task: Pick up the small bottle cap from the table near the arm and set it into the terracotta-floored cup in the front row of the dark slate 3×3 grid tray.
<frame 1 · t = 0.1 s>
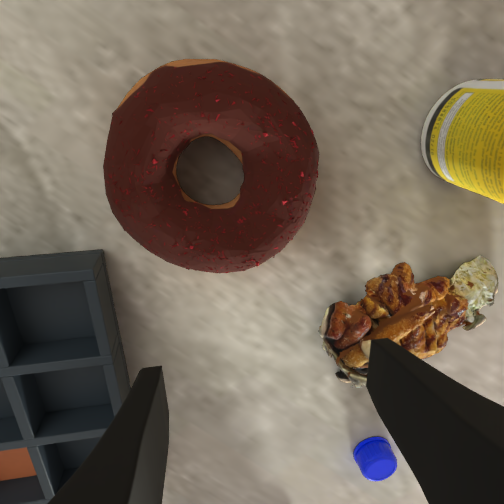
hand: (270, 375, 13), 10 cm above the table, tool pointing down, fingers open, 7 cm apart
brown lumpy food piece: (402, 306, 26), on the table
bottle cap: (370, 448, 31), on the table
donut: (210, 165, 20), on the table
supplement bottle: (461, 132, 22), on the table
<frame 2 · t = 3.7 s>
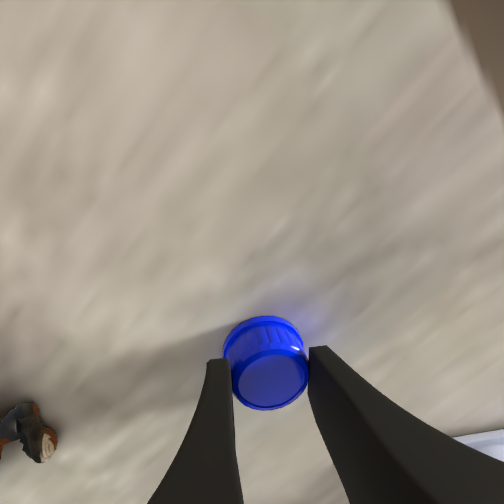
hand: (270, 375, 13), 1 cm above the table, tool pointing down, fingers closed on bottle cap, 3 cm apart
bottle cap: (261, 347, 15), on the table, touching gripper
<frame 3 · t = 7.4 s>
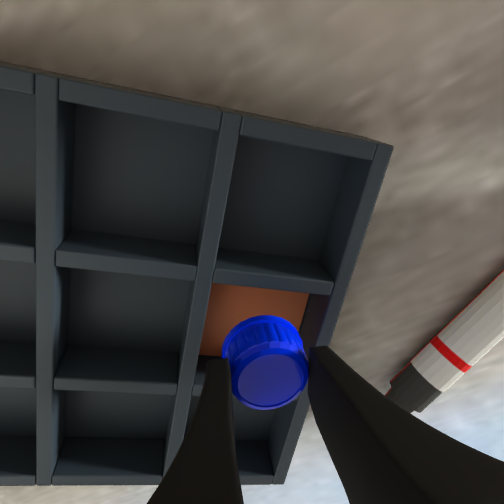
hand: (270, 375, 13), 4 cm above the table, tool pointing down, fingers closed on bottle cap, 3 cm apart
marker: (466, 308, 19), on the table
bottle cap: (260, 346, 15), point 3 cm above the table, touching gripper
grid: (131, 296, 16), on the table
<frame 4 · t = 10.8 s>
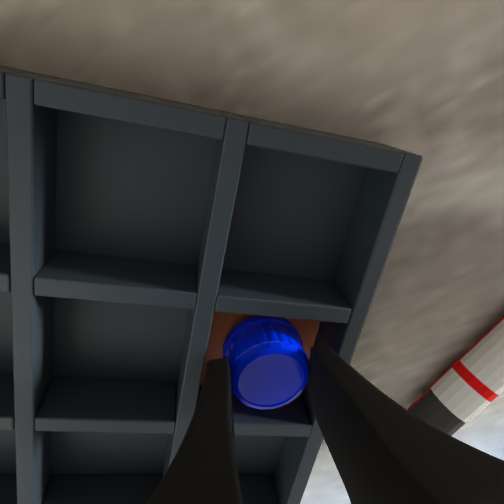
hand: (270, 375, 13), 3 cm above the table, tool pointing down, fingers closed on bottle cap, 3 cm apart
marker: (491, 330, 18), on the table
bottle cap: (261, 346, 15), point 1 cm above the table, touching gripper
grid: (123, 321, 15), on the table
when the fingers open (4 cm above the table, at t = 11.2 s): bottle cap drops 1 cm, resting on grid.
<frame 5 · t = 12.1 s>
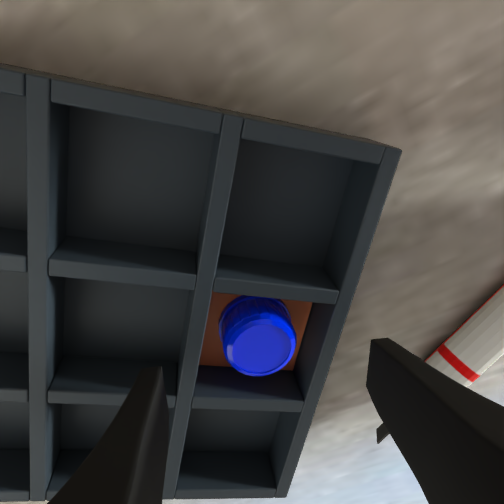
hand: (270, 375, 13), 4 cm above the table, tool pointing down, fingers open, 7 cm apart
marker: (474, 315, 19), on the table
bottle cap: (253, 321, 16), point 1 cm above the table, touching grid
grid: (128, 304, 16), on the table
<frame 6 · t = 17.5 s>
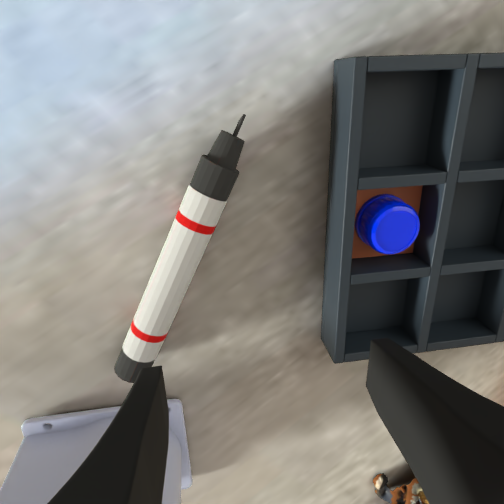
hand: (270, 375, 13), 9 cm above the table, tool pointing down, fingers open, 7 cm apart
marker: (180, 247, 21), on the table
brown lumpy food piece: (424, 496, 34), on the table
bottle cap: (379, 219, 22), point 1 cm above the table, touching grid
grid: (458, 208, 23), on the table
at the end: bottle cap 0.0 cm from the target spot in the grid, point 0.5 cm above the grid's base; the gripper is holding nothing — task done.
